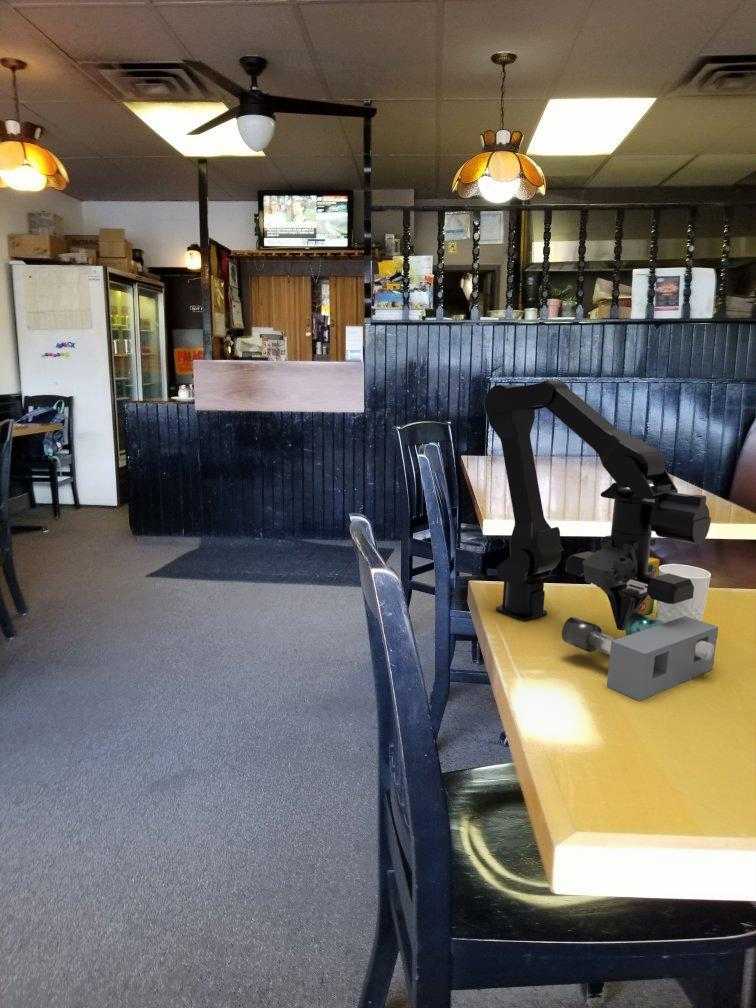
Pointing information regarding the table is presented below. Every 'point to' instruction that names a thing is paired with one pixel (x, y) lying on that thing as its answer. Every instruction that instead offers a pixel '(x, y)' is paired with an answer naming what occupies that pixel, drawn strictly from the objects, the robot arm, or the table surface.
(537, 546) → the robot arm
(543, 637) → the table surface
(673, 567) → the white cup
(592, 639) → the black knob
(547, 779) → the table surface
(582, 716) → the table surface
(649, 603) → the crayon box
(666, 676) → the block
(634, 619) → the teal and white peg
